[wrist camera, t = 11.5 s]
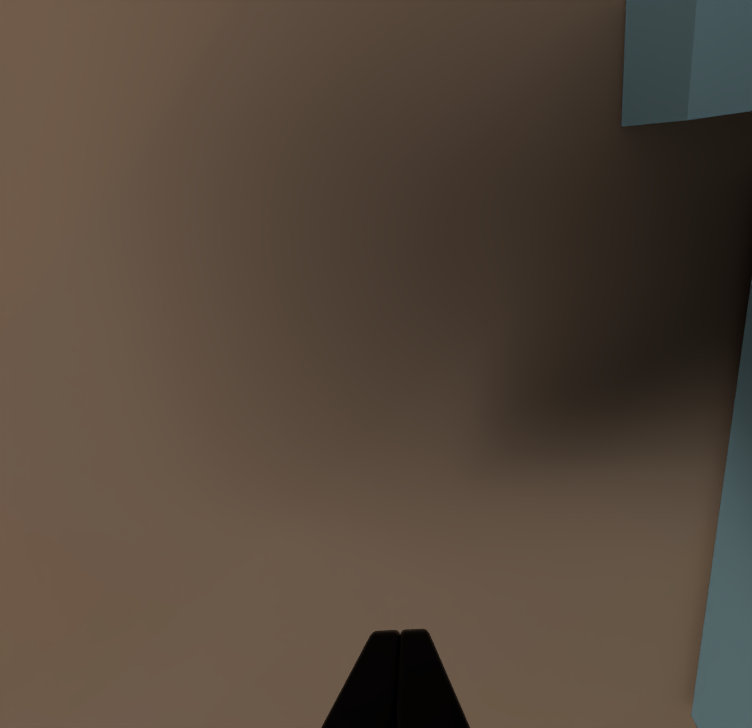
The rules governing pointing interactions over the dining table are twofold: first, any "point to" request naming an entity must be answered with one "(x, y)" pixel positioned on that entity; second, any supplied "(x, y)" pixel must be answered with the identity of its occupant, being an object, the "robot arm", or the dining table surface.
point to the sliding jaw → (731, 576)
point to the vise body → (686, 60)
